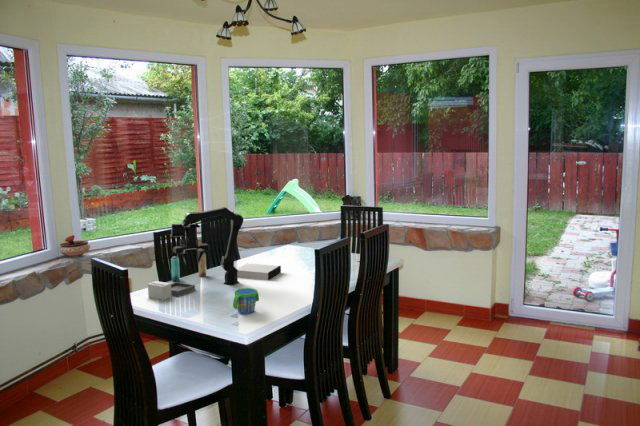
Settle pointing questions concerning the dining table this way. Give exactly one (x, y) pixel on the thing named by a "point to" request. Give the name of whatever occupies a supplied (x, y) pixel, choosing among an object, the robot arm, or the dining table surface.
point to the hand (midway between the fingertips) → (192, 263)
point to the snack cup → (245, 300)
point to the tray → (181, 288)
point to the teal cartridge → (175, 268)
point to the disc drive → (258, 271)
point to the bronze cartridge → (202, 266)
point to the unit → (159, 290)
